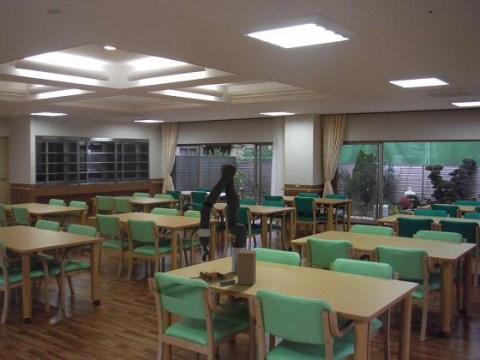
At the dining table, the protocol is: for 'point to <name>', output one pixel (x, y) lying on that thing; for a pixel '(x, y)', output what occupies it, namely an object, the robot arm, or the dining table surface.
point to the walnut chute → (211, 276)
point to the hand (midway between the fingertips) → (204, 261)
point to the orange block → (212, 273)
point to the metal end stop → (227, 282)
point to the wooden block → (246, 267)
